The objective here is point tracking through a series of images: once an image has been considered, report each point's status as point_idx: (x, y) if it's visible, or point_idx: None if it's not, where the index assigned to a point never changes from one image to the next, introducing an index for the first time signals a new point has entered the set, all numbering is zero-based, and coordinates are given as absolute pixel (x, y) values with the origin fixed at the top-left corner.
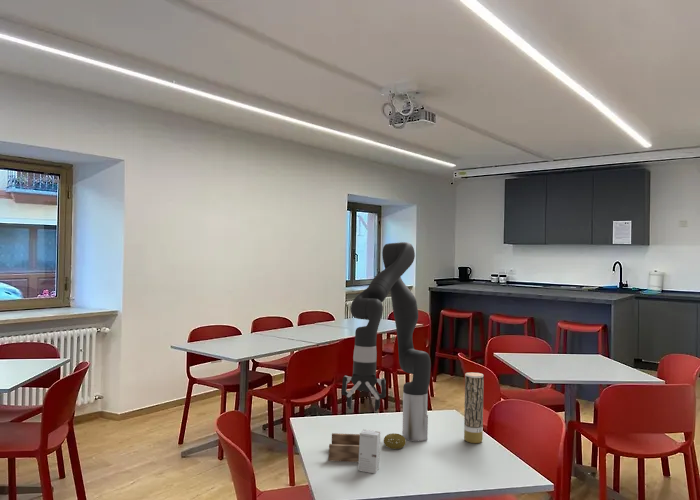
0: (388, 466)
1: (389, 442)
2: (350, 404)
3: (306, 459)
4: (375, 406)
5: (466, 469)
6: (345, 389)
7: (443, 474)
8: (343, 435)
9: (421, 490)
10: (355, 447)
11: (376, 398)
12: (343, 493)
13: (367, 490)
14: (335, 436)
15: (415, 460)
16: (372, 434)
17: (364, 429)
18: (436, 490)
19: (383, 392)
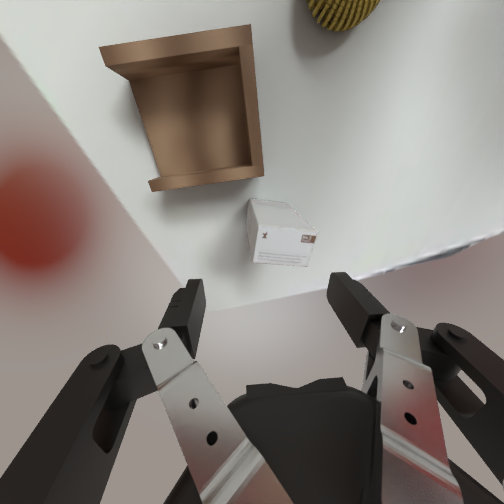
0: (308, 183)
1: (327, 18)
2: (200, 324)
3: (111, 187)
4: (339, 315)
5: (485, 158)
6: (122, 437)
7: (419, 199)
8: (153, 60)
9: (356, 271)
10: (228, 180)
11: (370, 358)
12: (238, 304)
13: (272, 289)
14: (124, 67)
15: (381, 125)
16: (292, 264)
17: (262, 228)
18: (380, 266)
19: (460, 404)
